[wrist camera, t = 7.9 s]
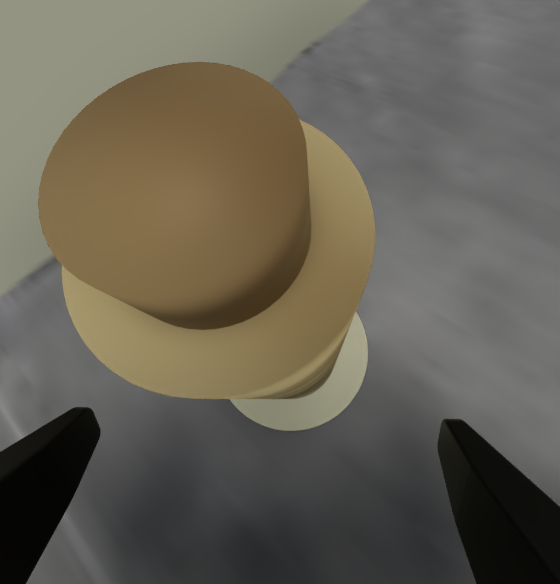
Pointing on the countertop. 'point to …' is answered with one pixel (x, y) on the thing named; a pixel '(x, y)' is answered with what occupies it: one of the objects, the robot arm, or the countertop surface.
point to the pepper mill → (207, 235)
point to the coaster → (322, 401)
